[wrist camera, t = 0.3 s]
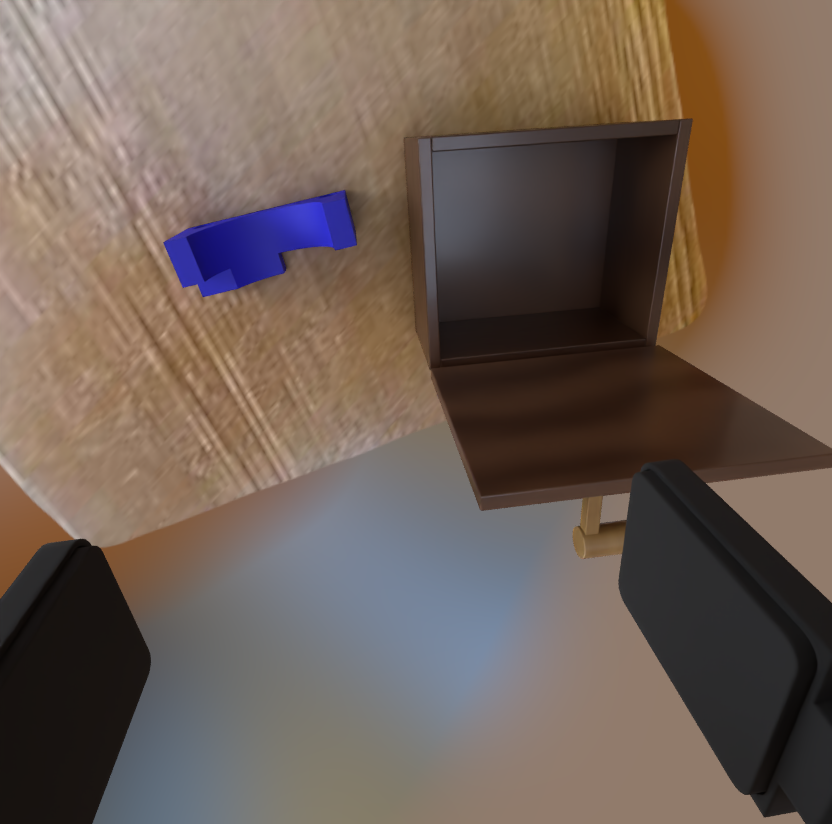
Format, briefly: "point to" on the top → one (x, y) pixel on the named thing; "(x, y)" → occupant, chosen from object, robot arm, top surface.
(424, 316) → the keepsake box
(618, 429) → the lid
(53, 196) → the top surface
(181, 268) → the blue notched block
